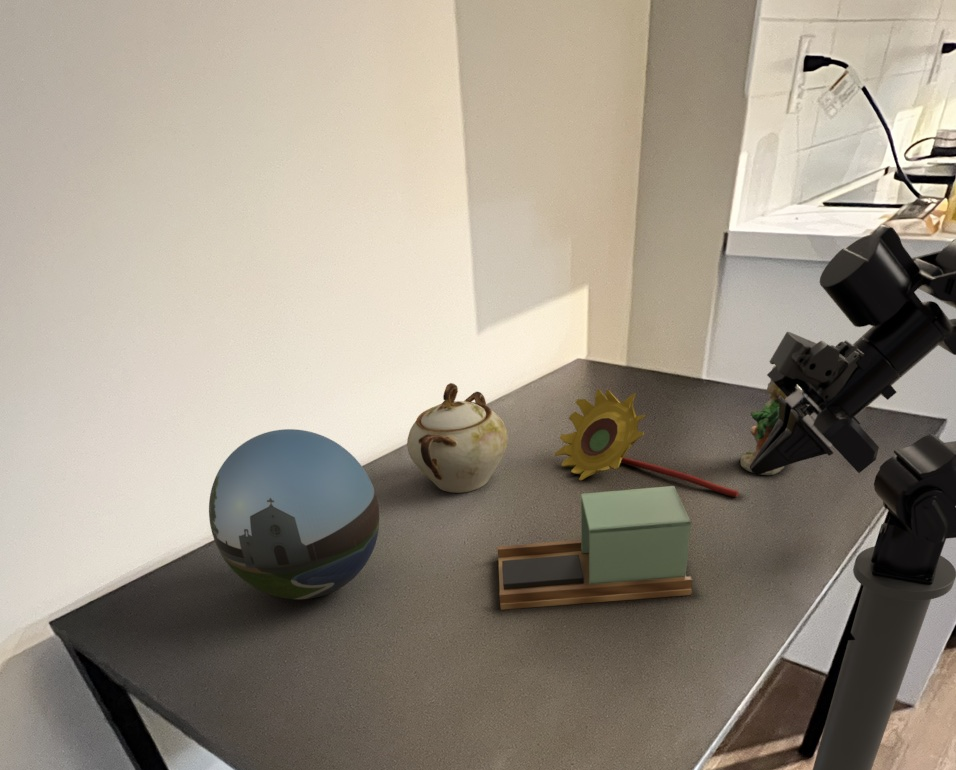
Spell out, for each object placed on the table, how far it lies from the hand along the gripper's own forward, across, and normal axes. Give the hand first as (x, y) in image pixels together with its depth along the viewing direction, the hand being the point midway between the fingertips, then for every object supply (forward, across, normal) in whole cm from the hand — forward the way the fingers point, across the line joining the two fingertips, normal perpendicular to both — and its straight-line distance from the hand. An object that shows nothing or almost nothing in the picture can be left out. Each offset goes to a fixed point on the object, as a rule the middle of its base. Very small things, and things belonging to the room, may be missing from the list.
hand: (752, 471), depth 82 cm
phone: (+25, 0, -9) cm, 26 cm away
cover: (+17, 0, -1) cm, 17 cm away
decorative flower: (+14, -26, +3) cm, 30 cm away
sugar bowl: (+33, -30, -16) cm, 47 cm away
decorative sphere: (+46, -3, -28) cm, 54 cm away
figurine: (+1, -25, +16) cm, 30 cm away
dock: (+21, 0, -4) cm, 22 cm away
